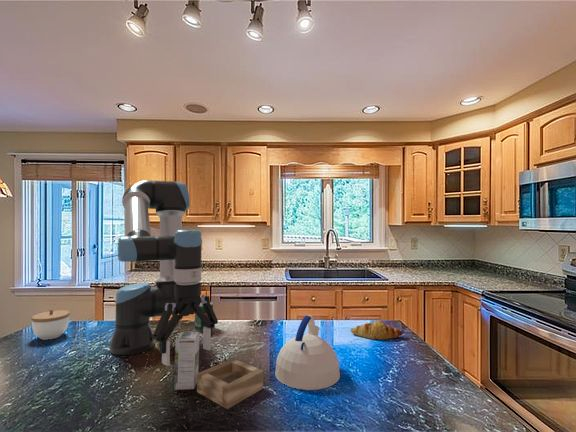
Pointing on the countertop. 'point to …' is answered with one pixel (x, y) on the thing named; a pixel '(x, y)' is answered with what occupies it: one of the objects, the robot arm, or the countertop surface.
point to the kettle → (307, 360)
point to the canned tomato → (198, 322)
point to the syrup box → (186, 360)
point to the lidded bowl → (50, 324)
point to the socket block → (229, 382)
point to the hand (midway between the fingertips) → (187, 356)
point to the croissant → (376, 331)
